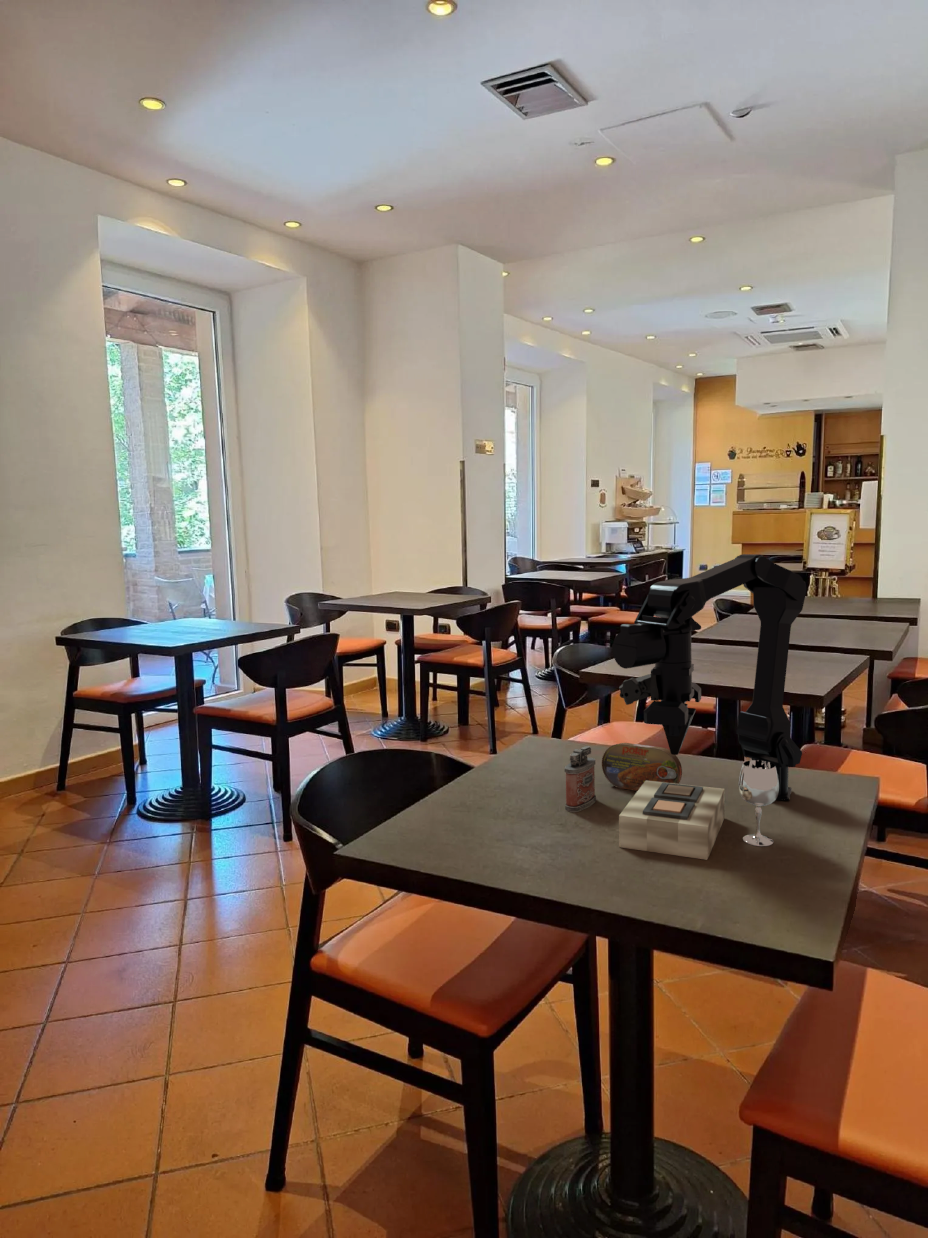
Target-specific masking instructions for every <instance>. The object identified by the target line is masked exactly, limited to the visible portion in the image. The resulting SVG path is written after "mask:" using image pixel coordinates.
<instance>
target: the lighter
mask: <svg viewBox="0 0 928 1238" xmlns="http://www.w3.org/2000/svg"><path fill="white" fill-rule="evenodd" d="M591 754H592V747H591V746H590V745H585V746H582V747H581V748H579V749H577V748H574V749H573V752H572V753H570V754H569V761H570V762H569V763H568V764H566V765H565V766H564V773H565V803H564V809H565V811H566V812H571V813H577V812H580V811H583V810H586V809H587V808H589V807H591V806H592V805H593V804H595V803H596V801H597V795H596V793H595V788H596V787H595V778H596V777H595V776H596V775H595V765H596V758H594V757H588V756H589V755H591Z"/></svg>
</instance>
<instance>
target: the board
mask: <svg viewBox="0 0 928 1238" xmlns="http://www.w3.org/2000/svg"><path fill="white" fill-rule="evenodd" d="M668 785H675V786H684V787H694V792H693V794H692V796H691V797H688V796H679V795H670V794H664V791H665V790H666V788H667V787H668ZM725 797H726V796H725V788H720V787H712V786H711V787H709V786H700V785H691V784H682V783H679V784H675V783H665V782H656V781H647V780H646V781H645V782H644V783H643V785H642V786H641V787H640V789H639V790H638V791H636V792H635V794H634V795H632V797H631V799H630V800H629V802H628V803H627V804H626V806H625V807H624V808H623V810H621V813H620V814H619V815H618V829H619V831H618V834H619V835H618V844H619V845H618V846H619V848H622V849H623V848H624V849H630V850H636V851H637V850H638V851H643V852H651V853H658V854H665V855H672V856H677V857H678V856H679V857H686V858H692V859H699V860H700V859H701V860H705V861H707V860H708V859H709V857H710V854H711V852H712V850H713V847H714V845H715V843H716V839H717V838H718V834H719V832H720V830H721V827H722V825H723V822H724V820H725V802H726V801H725ZM658 800H663V801H671V802H680V803H685V808H684V810H683V812H682V814H681V813H673V812H664V811H656V810H653V808H654V806H655V805H656V803H657V802H658Z"/></svg>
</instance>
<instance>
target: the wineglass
mask: <svg viewBox="0 0 928 1238" xmlns="http://www.w3.org/2000/svg"><path fill="white" fill-rule="evenodd" d="M738 790H739V795H740V797H741V798H742V799H743V800H744V801H745V802H746V803H748V804H750V805H752V806H755V809H754V814H755V819H756V831H755V833H754V834H747V835H744V836H743V837H742V841H743V842H744V843H746V844H748V845H751V846H755V847H756V846H757V847H769V846H772V845H773V844H774V839H772V838H771V837H769V836H767V835H764V834H762V833H761V826H760V825H761V823H760V822H761V817H762V814H763V812H762V808H761V807H764V806H768V805H771V804H772V803H774V802H775V801H776V798H777V796H778V792H779V780H778V775H777V771H776V767H775V764H773V763H771V762H767V761H761V760H754V759H751V760H745V761H743V762H742V765H741V768H740V772H739V777H738Z"/></svg>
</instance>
